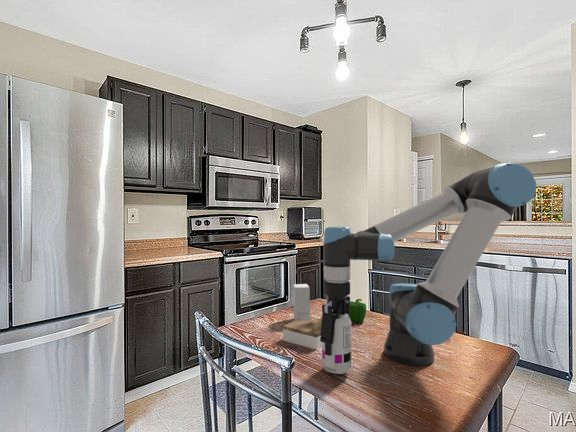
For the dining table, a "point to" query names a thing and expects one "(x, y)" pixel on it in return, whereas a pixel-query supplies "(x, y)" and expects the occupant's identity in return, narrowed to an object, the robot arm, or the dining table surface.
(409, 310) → the robot arm
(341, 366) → the supplement can
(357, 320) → the bell pepper
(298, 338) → the keepsake box
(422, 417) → the dining table surface
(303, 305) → the skincare box
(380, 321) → the dining table surface
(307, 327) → the lid
